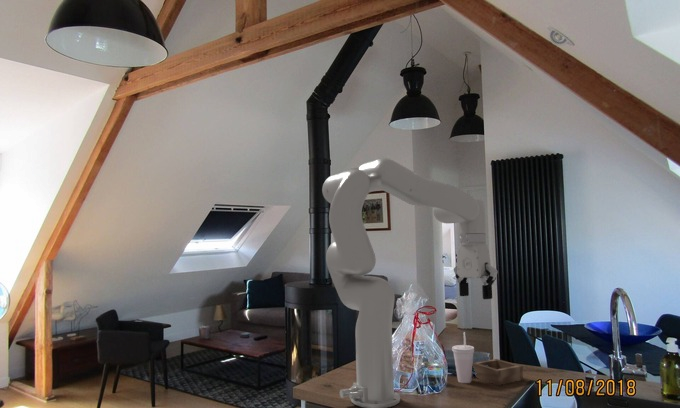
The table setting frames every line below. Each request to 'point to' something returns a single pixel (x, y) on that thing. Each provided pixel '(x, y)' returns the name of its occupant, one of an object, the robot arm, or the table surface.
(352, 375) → the table surface
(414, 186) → the robot arm
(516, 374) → the box
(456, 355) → the smoothie
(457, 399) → the table surface
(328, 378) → the table surface
